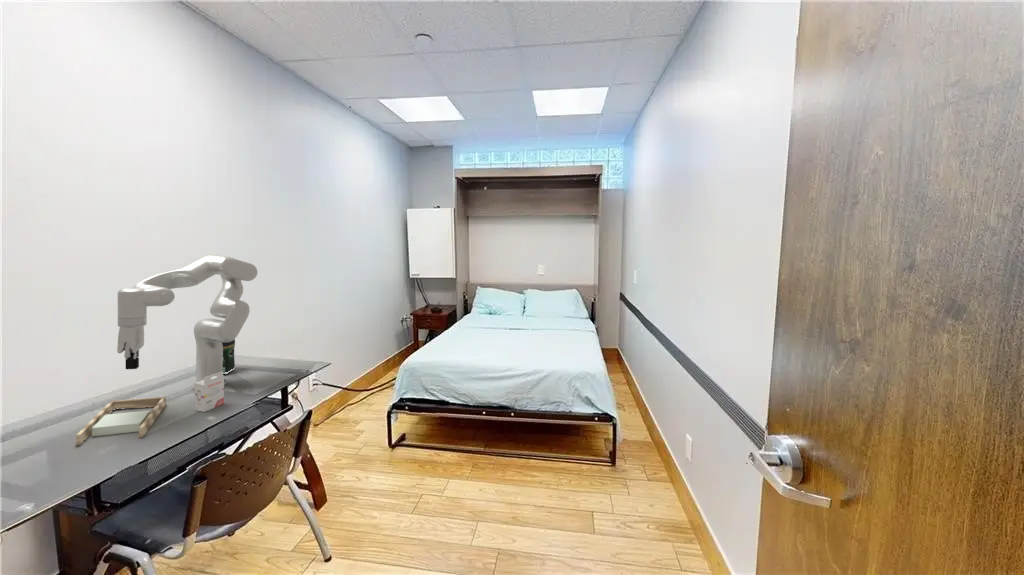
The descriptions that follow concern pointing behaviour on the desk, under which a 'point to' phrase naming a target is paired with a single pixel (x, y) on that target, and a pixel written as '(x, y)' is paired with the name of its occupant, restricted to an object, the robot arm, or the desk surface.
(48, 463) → the desk surface
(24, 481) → the desk surface
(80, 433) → the wooden frame
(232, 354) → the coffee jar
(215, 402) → the ink cartridge box
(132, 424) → the cover plate
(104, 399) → the desk surface
